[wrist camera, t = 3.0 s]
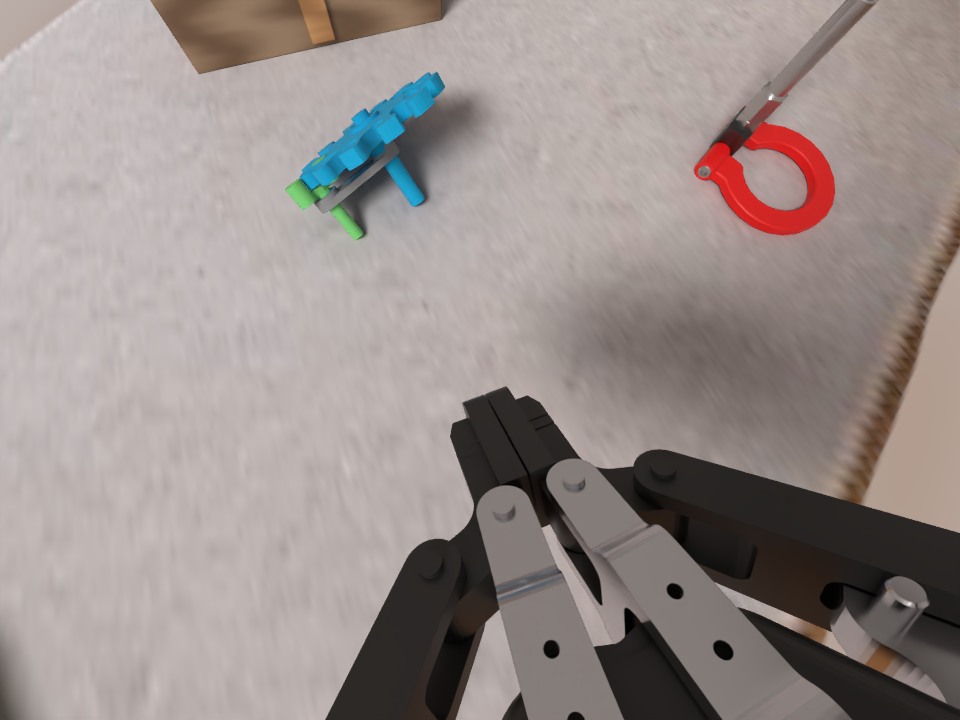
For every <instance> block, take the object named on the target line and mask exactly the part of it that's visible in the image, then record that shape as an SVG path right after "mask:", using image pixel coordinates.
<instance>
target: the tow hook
mask: <svg viewBox="0 0 960 720" xmlns="http://www.w3.org/2000/svg"><path fill="white" fill-rule="evenodd" d="M878 1H879V0H846V1H845V2H844V3H843V4H842V5H841V6H840V7H839V8H838V10H837V11H836V12H835V13H834V14H833V15H832V16H831V17H830V18H829V19H828V21H827V22H826V23H825V24H824V25H823V26H822V27H821V28H820V29H819V30H818V32H817V33H816V34H815V35H814V36H813V37H812V38H811V39H810V40H809V41H808V43H807V44H806V45H805V46H804V47H803V48H802V49H801V50H800V51H799V52H798V54H797V55H796V56H795V57H794V58H793V59H792V60H791V61H790V62H789V63H788V65H787V66H786V67H785V68H784V69H783V70H782V71H781V72H780V73H779V74H778V76H777V77H776V78H775V79H774V80H773V81H769V82H768V83H767V84H766V85H765V86H764V87H763V89H762V90H761V91H760V92H759V93H758V94H757V95H756V96H755V97H754V99H753V100H752V101H751V102H750V103H749V104H748V105H747V106H745V107H743V108H742V110H741V111H740V112H739V113H738V114H737V115H736V116H735V117H734V118H733V120H732V121H731V122H730V123H729V124H728V125H727V126H726V127H725V129H724V130H723V131H722V132H721V134H720V135H719V136H718V137H717V139H716V140H715V141H714V142H713V143H712V145H711V146H710V149H709V151H708V152H707V153H706V154H705V156H704V157H703V158H702V159H701V161H700V162H699V163H698V164H697V166H696V167H695V174H696V176H697V177H698V178H699V179H702V180H709V179H711V180H713V181H714V182H715V183H717V184H718V185H719V186H720V190H721V193H722V195H723V196H724V198H725V200H726V202H727V203H728V205H729V206H730V207H731V209H732V210H733V211H734V212H735V213H736V214H737V215H738V216H739V217H740V218H741V219H743V220H744V221H745V222H747V223H748V224H750V225H751V226H752V227H755V228H757V229H759V230H762V231H764V232H767V233H771V234H778V235H790V234H797V233H800V232H802V231H805V230H807V229H809V228H811V227H813V226H814V225H816V224H817V223H819V222H820V221H821V220H822V219H823V218H824V217H826V215H827V214H828V212H829V210H830V208H831V207H832V205H833V200H834V195H835V184H834V177H833V174H832V171H831V168H830V166H829V164H828V162H827V160H826V159H825V157H824V156H823V154H822V152H821V151H820V150H819V149H818V148H817V147H816V146H815V145H814V144H813V143H812V142H811V141H810V140H808V139H807V138H805V137H804V136H802V135H801V134H799V133H797V132H795V131H793V130H790V129H788V128H786V127H782V126H776V125H771V124H767V123H766V122H764V121H765V120H766V119H767V118H768V117H769V116H770V115H771V114H772V113H773V112H774V111H775V109H776V108H777V107H778V106H779V105H780V104H781V103H782V102H783V101H784V100H785V99H786V97H787V96H788V92H789V91H790V90H791V89H792V88H793V87H794V86H795V85H796V84H797V83H798V82H799V81H800V80H801V79H802V78H803V77H804V76H805V75H806V74H807V73H808V72H809V71H810V70H811V69H812V68H813V67H814V66H815V65H816V64H817V63H818V62H819V61H820V60H821V59H822V58H823V57H824V56H825V55H826V54H827V53H828V52H829V51H830V50H831V49H832V48H833V47H834V46H835V45H836V44H837V43H838V42H839V41H840V40H841V39H842V38H843V37H844V35H845V34H846V33H847V32H848V31H849V30H850V29H851V28H852V27H853V26H854V25H855V24H856V23H857V22H858V21H859V20H860V19H861V18H862V17H863V16H864V15H865V14H866V13H867V12H868V11H869V10H870V9H871V8H872V7H873V6H874V5H875V4H876V3H877V2H878ZM743 144H744V145H745V146H747V147H748V148H749V149H751V150H756V149H762V148H768V149H774V150H777V151H780V152H782V153H784V154H786V155H787V156H789V157H790V158H792V159H793V160H794V161H795V162H796V163H797V164H798V165H799V166H800V168H801V170H802V171H803V173H804V174H805V177H806V180H807V183H808V194H807V199H806V201H805V203H804V204H803V206H802V207H801V208H800V209H797V210H793V211H782V210H776V209H774V208H771V207H769V206H767V205H765V204H764V203H762V202H761V201H759V200H758V199H757V198H756V197H755V196H754V195H753V194H752V193H751V191H750V189H749V188H748V186H747V184H746V182H745V179H744V175H743V167H742V165H741V163H739V162H738V161H737V160H735V159H734V158H733V157H731V156H732V155H733V154H734V153H735V152H736V151H737V150H738V149H739V148H740V147H741V146H742V145H743Z"/></svg>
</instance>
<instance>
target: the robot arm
mask: <svg viewBox="0 0 960 720" xmlns="http://www.w3.org/2000/svg"><path fill="white" fill-rule="evenodd" d="M463 407H464V411H465V414H466V417H467V418H466V419H463V420H461V421H458V422H455V423H453V424H452V429H451V435H450V438H451V440H452V443H453V446H454V449H455V452H456V455H457V458H458V460H459V463H460V466H461V469H462V472H463V475H464V477H465V480H466V483H467V486H468V488H469V491H470V494H471V497H472V499H473V502H474V511H473V515H472V517H471V519H470V521H469V523H468V524H467V526H466V527H465V528H464V529H463V530H462V531H461V532H460V533H458V534H457V535H456V536H455V537H454V538H452V539H451V540H450V541H447V540H444V539H432V540H428V541H425V542H423V543H422V544H420V545H419V546H417V547H416V548H415V549H414V550H413V551H412V552H411V553H410V554H409V556H408V558H407V559H406V561H405V563H404V565H403V567H402V569H401V571H400V573H399V575H398V577H397V579H396V581H395V583H394V585H393V587H392V589H391V591H390V593H389V595H388V597H387V599H386V601H385V603H384V605H383V607H382V609H381V611H380V613H379V615H378V617H377V619H376V621H375V623H374V624H373V626H372V628H371V630H370V632H369V634H368V636H367V638H366V640H365V642H364V644H363V646H362V648H361V650H360V652H359V654H358V656H357V658H356V660H355V662H354V664H353V666H352V668H351V670H350V672H349V674H348V676H347V678H346V680H345V682H344V684H343V686H342V688H341V690H340V692H339V694H338V696H337V698H336V700H335V702H334V704H333V706H332V708H331V710H330V712H329V714H328V715H327V717H326V719H325V720H456V716H457V713H458V710H459V707H460V704H461V701H462V697H463V694H464V691H465V688H466V685H467V682H468V679H469V675H470V672H471V669H472V666H473V663H474V660H475V657H476V653H477V650H478V647H479V644H480V641H481V638H482V634H483V631H484V627H485V622H486V621H487V620H488V619H489V618H491V617H492V616H493V615H494V614H495V613H496V612H497V611H498V610H499V609H500V612H501V616H502V620H503V624H504V628H505V632H506V636H507V639H508V643H509V647H510V651H511V655H512V659H513V663H514V666H515V670H516V674H517V678H518V682H519V686H520V689H521V692H520V693H519V694H518V696H517V697H516V698H515V699H514V700H513V702H512V703H511V705H510V706H509V708H508V710H507V711H506V713H505V715H504V717H503V719H502V720H960V533H957V532H954V531H950V530H947V529H943V528H940V527H936V526H933V525H929V524H926V523H922V522H919V521H915V520H912V519H908V518H905V517H901V516H898V515H894V514H891V513H887V512H883V511H880V510H876V509H872V508H869V507H866V506H862V505H859V504H855V503H852V502H848V501H845V500H841V499H838V498H834V497H831V496H827V495H823V494H820V493H816V492H813V491H809V490H806V489H802V488H799V487H795V486H792V485H788V484H785V483H781V482H778V481H774V480H771V479H767V478H764V477H760V476H756V475H753V474H749V473H746V472H742V471H739V470H735V469H732V468H728V467H725V466H721V465H718V464H714V463H711V462H707V461H704V460H700V459H696V458H693V457H689V456H686V455H682V454H679V453H675V452H672V451H668V450H650V451H647V452H645V453H643V454H641V455H640V456H639V457H638V458H637V459H636V460H635V462H634V467H625V468H615V469H603V468H598V467H595V466H594V465H592V464H591V463H589V462H587V461H585V460H582V459H581V458H580V457H579V456H578V455H577V453H576V452H575V450H574V449H573V448H572V446H571V445H570V443H569V442H568V441H567V439H566V438H565V437H564V435H563V434H562V432H561V431H560V430H559V428H558V427H557V425H556V424H554V421H553V420H552V419H551V417H550V416H549V415H548V413H547V412H546V410H545V409H544V408H543V406H542V405H541V403H540V402H538V401H536V400H534V399H533V398H531V397H529V396H524V397H522V398H519V399H516V400H515V398H514V397H513V395H512V393H511V392H510V390H509V389H508V388H507V387H503V388H500V389H498V390H495V391H492V392H489V393H487V394H485V396H484V395H482V396H479V397H476V398H473V399H471V400H468V401H465V402H463ZM549 524H550V525H551V527H552V529H553V531H554V532H555V534H556V537H557V542H558V547H559V549H560V551H561V553H562V554H563V556H564V558H565V559H566V561H567V562H568V564H569V566H570V567H571V569H572V570H573V572H574V574H575V575H576V577H577V578H578V580H579V582H580V583H581V585H582V586H583V588H584V590H585V591H586V593H587V595H588V596H589V598H590V599H591V601H592V603H593V604H594V606H595V607H596V609H597V611H598V613H599V614H600V616H601V619H602V621H603V623H604V626H605V629H606V631H607V633H608V635H609V637H610V639H611V641H612V643H613V644H610V645H603V646H596V647H593V644H592V642H591V639H590V637H589V635H588V632H587V630H586V627H585V625H584V623H583V620H582V618H581V615H580V613H579V610H578V608H577V606H576V603H575V601H574V598H573V596H572V594H571V591H570V589H569V586H568V584H567V582H566V580H565V577H564V575H563V573H562V572H561V571H559V569H558V567H557V565H556V563H555V560H554V558H553V556H552V553H551V551H550V548H549V546H548V543H547V541H546V538H545V536H544V533H543V531H542V529H541V528H542V527H545V526H547V525H549ZM714 582H716V583H718V584H720V585H723V586H725V587H727V588H730V589H732V590H734V591H737V592H739V593H741V594H744V595H746V596H748V597H751V598H753V599H755V600H758V601H760V602H763V603H765V604H767V605H770V606H772V607H774V608H777V609H779V610H781V611H784V612H786V613H788V614H791V615H793V616H795V617H798V618H800V619H802V620H805V621H807V622H809V623H812V624H814V625H816V626H819V627H821V628H823V629H826V630H828V631H830V632H833V634H834V637H835V638H836V640H837V641H838V643H839V644H840V646H841V647H842V648H843V649H844V650H845V652H846V654H847V656H845V655H843V654H841V653H839V652H837V651H835V650H833V649H831V648H829V647H827V646H825V645H822V644H820V643H818V642H816V641H814V640H812V639H810V638H808V637H806V636H803V635H801V634H799V633H797V632H795V631H793V630H791V629H789V628H787V627H784V626H782V625H780V624H778V623H776V622H774V621H772V620H770V619H768V618H765V617H763V616H761V615H759V614H756V613H754V612H751V611H748V610H745V609H743V608H739V607H736V606H735V605H734V604H733V602H732V601H731V600H730V599H729V598H728V597H727V596H726V595H725V594H724V593H723V592H722V591H721V589H720V588H719V587H718V586H717V585H716V584H715V583H714Z"/></svg>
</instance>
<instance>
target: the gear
mask: <svg viewBox="0 0 960 720" xmlns="http://www.w3.org/2000/svg"><path fill="white" fill-rule="evenodd" d="M444 88H445V86H444V84H443V82H442V80H441V78H440V76H439V74H438V73H437V72H436V73H434V74H432V75H431V74H430V73H426V74H425V75H424V76H422V77H421V78H420V79H419V80H417V81H416V82H415V83H414V84H413V82H411V83H409V84H407V85H405V86H404V87H403V88H401V89H400V90H399V91H398V92H397V93H396V94H395V95H394V96H393V97H392V98H390V99H389V100H388V101H387V100H386V99H385V100H384V101H382V102H381V103H379V104H378V105H376V106H375V107H374V108H373V109H372V110H371V111H370V113H368V111H367V110H366V108H365V109H363V110H361V111H360V112H359V113H357V114H356V115H355V116H354V117H353V118H352V121H353V122H354V123H353V124H352V125H351V126H349V127H348V128H347V129H345V130H344V131H343V134H344V136H343V137H342V138H340V139H339V140H338V141H337V142H334V141H333V142H331V143H330V144H328V145H327V146H326V147H325V148H324V149H322V150H321V151H320V152H319V153H318V154H319V155H320V157H319V158H315V159H314V160H312V161H311V162H310V163H309V164H308V165H306V166H305V167H304V169H303V170H302V172H303V173H302V174H301V176H300V179H301V180H300V179H297V180H296V181H294V182H293V183H292V184H291V185H289V186H288V187H287V188H286V189H285V191H286V192H287V193H288V194H289V195H290V196H291V197H292V198H293V200H294V201H295V202H296V203H297V204H298V205H299V206H300V207H301V208H302V210H304V209H306V208H307V207H309V206H310V205H311V204H312V203H313V202H314V201H315V202H314V204H315V205H316V206H317V207H318V209H319V210H320V211H321V212H322V213H326V212H328V211H329V210H330V211H331V212H332V214H333V215H334V216H335V217H336V218H337V220H338V221H339V222H340V223H341V224H342V225H343V227H344V228H345V229H346V230H347V231H348V233H349V234H350V235H351V236H352V237H353V238H354V240H356V239H358V238H359V237H361V236H362V235H363V231H362V230H361V229H360V228H359V227H358V225H357V224H356V223H355V222H354V220H353V219H352V218H351V217H350V216H349V214H348V213H347V212H346V211H345V209H344V208H343V207H342V206H341V205H340V202H341V201H342V200H343V199H345V198H346V197H347V196H348V195H349V194H351V193H352V192H353V191H354V190H356V189H357V188H358V187H359V186H360V185H362V184H363V183H364V182H365V181H366V180H368V179H369V178H370V177H371V176H373V175H374V174H375V173H376V172H377V171H379V170H380V169H381V168H382V167H385V168H386V169H387V171H388V172H389V174H390V175H391V177H392V178H393V179H394V181H395V182H396V184H397V185H398V187H399V188H400V189H401V191H402V192H403V194H404V195H405V197H406V198H407V199H408V201H409V202H410V204H411V205H412V206H413V207H414V206H416V205H418V204H420V203H421V202H422V201H423V200H424V198H425V197H424V195H423V194H422V192H421V191H420V189H419V188H418V186H417V185H416V183H415V182H414V180H413V179H412V177H411V176H410V174H409V173H408V171H407V170H406V168H405V167H404V165H403V164H402V162H401V161H400V159H399V158H398V156H397V154H398V153H399V152H400V150H399V149H398V147H397V146H396V144H395V143H394V141H393V140H394V139H395V138H396V137H398V136H399V135H400V134H402V133H403V132H404V131H405V130H406V128H405V126H404V125H403V122H404V121H405V120H407V119H408V118H409V117H411V116H414V117H415V118H416V117H418V116H420V115H422V114H423V113H424V112H425V111H426V110H428V109H429V108H430V107H431V106H432V105H433V104H434V103H435V101H434V100H433V98H435V97H436V96H438V95H439V94H440V93H441V92H442V91H443V89H444ZM369 155H371V157H372V158H373V160H371V161H370V162H369V163H368V164H366V165H365V166H364V167H363V168H362V169H360V170H359V171H358V172H357V173H355V174H354V175H353V176H352V177H351V178H349V179H348V180H347V181H346V182H344V183H343V184H342V185H341V186H339V187H338V188H336V187H335V186H333V187H331V188H329V186H330V185H331V184H332V183H334V182H335V181H336V180H337V179H338V178H339V177H340V176H341V175H340V173H341V172H342V171H343V170H345V169H346V168H348V170H349V171H350V170H352V169H354V168H356V167H357V166H359V165H361V164H362V163H364V162H365V161H366V160H367V159H368V158H369ZM304 184H305V185H306V186H307V187H306V186H305V185H304ZM316 198H317V199H316Z"/></svg>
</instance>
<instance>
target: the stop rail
mask: <svg viewBox="0 0 960 720" xmlns="http://www.w3.org/2000/svg"><path fill="white" fill-rule="evenodd" d="M151 2H152V4H153V5H154V7H155V8H156V10H157V11H158V13H159V14H160V16H161V17H162V19H163V20H164V22H165V23H166V25H167V26H168V28H169V29H170V31H171V32H172V34H173V36H174V37H175V39H176V40H177V42H178V43H179V45H180V46H181V48H182V49H183V51H184V52H185V54H186V55H187V57H188V58H189V60H190V61H191V63H192V65H193V66H194V68H195V69H196V71H197V72H198V74H200V73H204V72H208V71H213V70H217V69H222V68H226V67H231V66H235V65H240V64H244V63H249V62H253V61H258V60H262V59H267V58H271V57H276V56H280V55H285V54H289V53H294V52H298V51H302V50H307V49H311V48H316V47H320V46H325V45H329V44H334V43H338V42H343V41H347V40H352V39H356V38H361V37H365V36H370V35H374V34H379V33H383V32H387V31H392V30H396V29H401V28H405V27H410V26H414V25H419V24H423V23H428V22H432V21H437V20H441V0H151Z"/></svg>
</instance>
